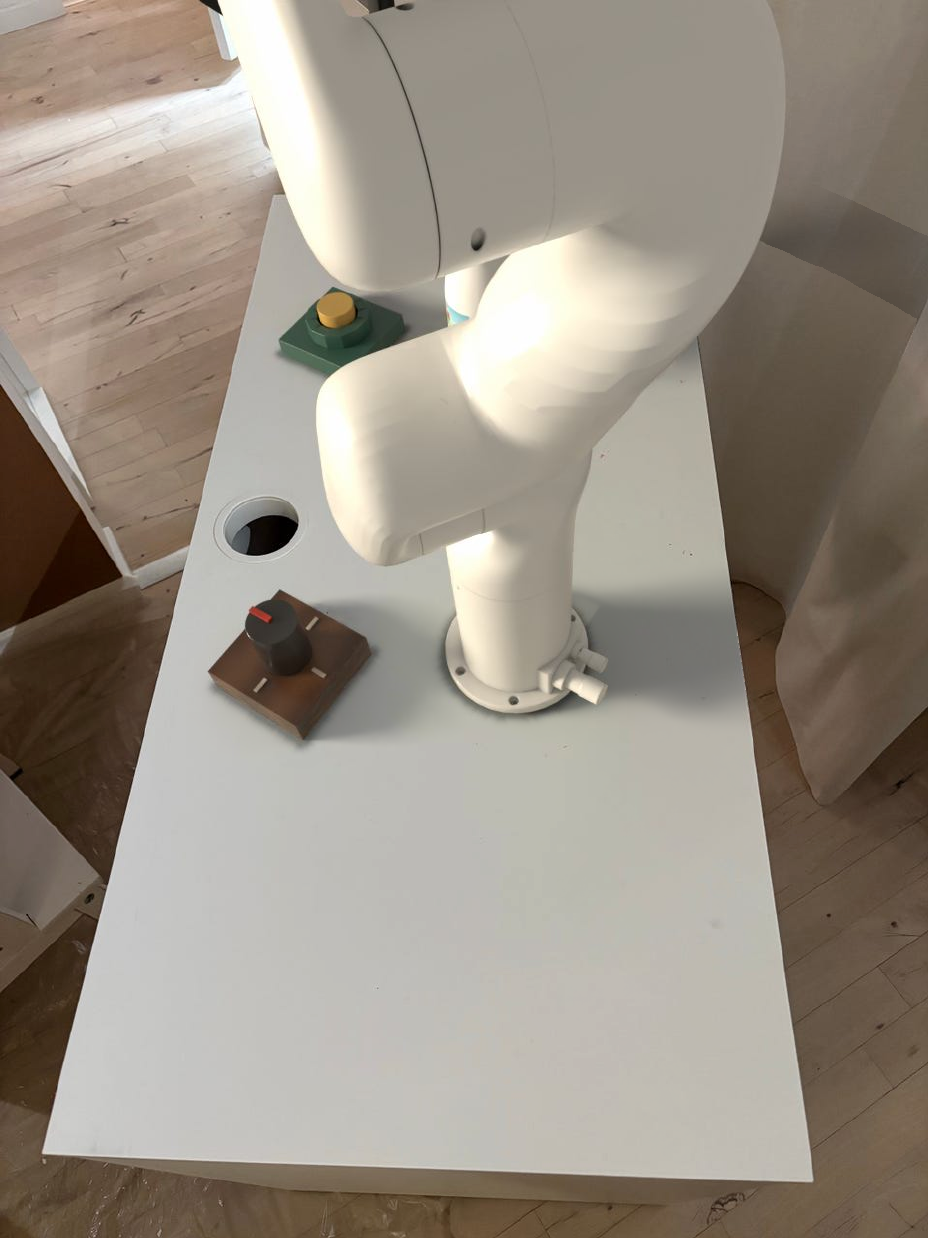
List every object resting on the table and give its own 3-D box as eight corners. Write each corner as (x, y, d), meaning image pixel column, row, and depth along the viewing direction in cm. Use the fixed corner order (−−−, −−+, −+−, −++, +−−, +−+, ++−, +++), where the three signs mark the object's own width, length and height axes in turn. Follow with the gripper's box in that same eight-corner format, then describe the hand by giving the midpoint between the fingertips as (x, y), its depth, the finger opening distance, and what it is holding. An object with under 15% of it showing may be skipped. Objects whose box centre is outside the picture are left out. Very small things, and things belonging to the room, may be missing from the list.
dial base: (372, 654, 86) (366, 636, 83) (303, 741, 82) (295, 725, 79) (287, 606, 89) (279, 587, 86) (217, 687, 85) (206, 670, 83)
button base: (405, 329, 108) (400, 301, 104) (352, 385, 104) (345, 357, 100) (336, 301, 111) (329, 272, 108) (282, 354, 107) (273, 326, 104)
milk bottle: (527, 347, 105) (522, 181, 88) (522, 398, 101) (516, 235, 84) (457, 346, 106) (439, 182, 89) (450, 397, 102) (429, 235, 85)
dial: (322, 646, 83) (307, 611, 78) (290, 684, 81) (273, 651, 76) (283, 624, 84) (266, 588, 80) (251, 661, 83) (232, 627, 78)
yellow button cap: (363, 311, 104) (360, 299, 103) (341, 334, 103) (338, 321, 101) (334, 300, 106) (331, 287, 104) (312, 322, 104) (309, 309, 103)
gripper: (127, -192, 52) (220, 112, 67) (420, -265, 54) (448, 44, 69) (103, -235, 56) (196, 61, 71) (378, -302, 58) (413, -2, 73)
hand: (321, 52), depth 70 cm, fingers open, 9 cm apart
